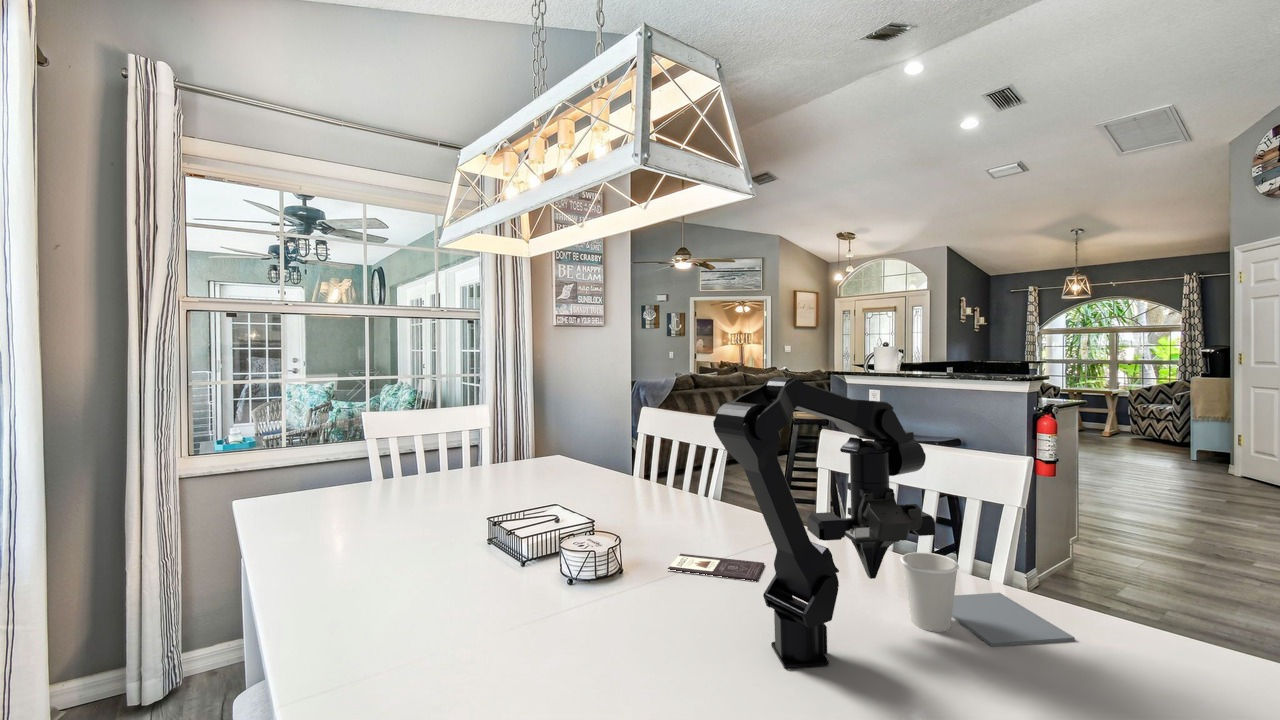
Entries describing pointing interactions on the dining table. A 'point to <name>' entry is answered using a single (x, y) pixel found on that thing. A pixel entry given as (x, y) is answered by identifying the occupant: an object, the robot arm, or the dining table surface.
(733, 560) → the chocolate bar
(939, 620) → the dixie cup
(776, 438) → the robot arm
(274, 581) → the dining table surface
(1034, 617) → the mat
